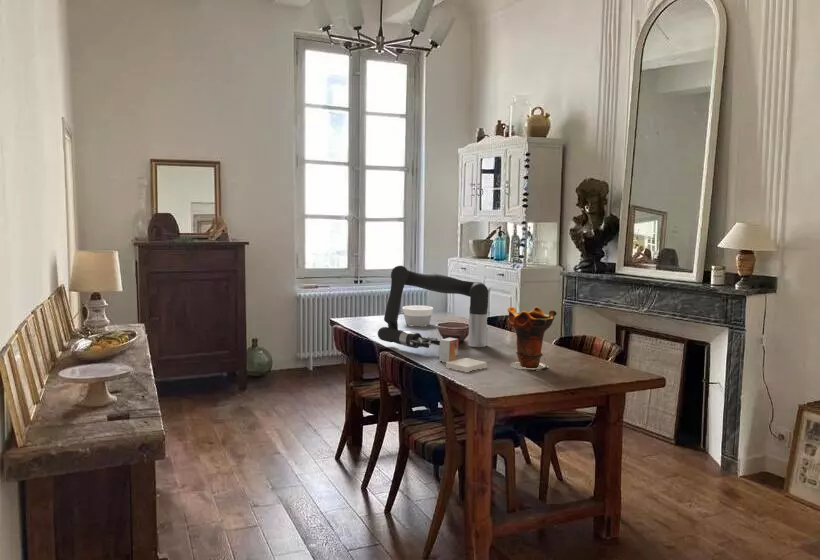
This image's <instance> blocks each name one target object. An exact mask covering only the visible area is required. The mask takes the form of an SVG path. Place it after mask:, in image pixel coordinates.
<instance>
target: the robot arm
mask: <svg viewBox="0 0 820 560" xmlns="http://www.w3.org/2000/svg"><path fill="white" fill-rule="evenodd" d="M390 279H391V282H390V285H391V286H390V291H389V297H388V299H387V302H386V303H387V304H386V307H385V312H384V317H383V321H384V322H385V323H386V324H387V326H382V327H380V328H379V329H378V330H377V337H378V339H379V340H381V341H383V342H388V343H394V344H396V345H397V344H398V345H402V346H404V347H408V348H413V349H418V348H427V349H429V348H430V346H431V345H434V346H440V340H439V339H438V338H436V337H430V336H428V337H426V336H422V335H421V333H418V332H413V331H409V330H401V329H399V324H398V320H399V319H398V318H399V315H400V311H401V305H402V304H401V302H402V296H403V292H404V288H405V286H409V287H417V288H419V289H423V290H427V291H431V292H435V293H441V294H448V295H449V294H450V295H451V294H452V295H453V294H456V295H463V296H467V297H469V298H470V299H469V303H470V304H469V317H468V321H469V322H468V346H469V347H472V348H485V347H486V346H488V334H489V333H488V321H487V320H488V308H489V288H488V287H487V285H486V284H484V283H483V282H479V281H478V282H477V281H468V280H461V279H459V278H455V277H451V276H448V275H444V274H438V273H428V272H427V273H426V272H425V273H424V272H416V271H412V270H409V269H408V268H407V267H405V266H404V265H396V266H395V267H393V268H392V269H391V272H390Z"/></svg>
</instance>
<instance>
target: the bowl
mask: <svg viewBox="0 0 820 560" xmlns="http://www.w3.org/2000/svg"><path fill="white" fill-rule="evenodd" d="M402 312H403V315H404V319H405V321H404V322H405V324H408V325H413V326H424V327H426V326H425V325H429V326H430V322H431V320H432V315H433V312H434V307H433V306H430V305H421V304H420V305H416V304H415V305H412V304H411V305H404V306H402ZM408 325H407V326H408ZM413 326H412V327H413Z"/></svg>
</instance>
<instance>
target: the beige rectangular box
mask: <svg viewBox="0 0 820 560" xmlns="http://www.w3.org/2000/svg"><path fill="white" fill-rule="evenodd" d="M445 365H446V366H445V368H446V367H450V368H453V369H458V370H462V371H466V372H468V371H472V370H476V369H480V370H483V369H482V368H484V369H486V367H487V365H488V363H487V361H484V360H483V361H482V360H477V359H473V358H469V357H465V358H464V357H463V358H460V359H459V358H458V360H455V361H450V362H446V364H445ZM487 368H488V367H487ZM453 369H452V370H453ZM476 371H477V370H476ZM466 372H465V373H466ZM472 372H473V371H472ZM468 373H469V372H468Z"/></svg>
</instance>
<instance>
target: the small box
mask: <svg viewBox="0 0 820 560" xmlns="http://www.w3.org/2000/svg"><path fill="white" fill-rule="evenodd" d="M459 340H460V339H459V338H454V337H446V338H443V339H440V340H439V341H440V345H439V356H438V357H439V362H440V361H442V362H441V363H445V362H450V361H455V360H459Z"/></svg>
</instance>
